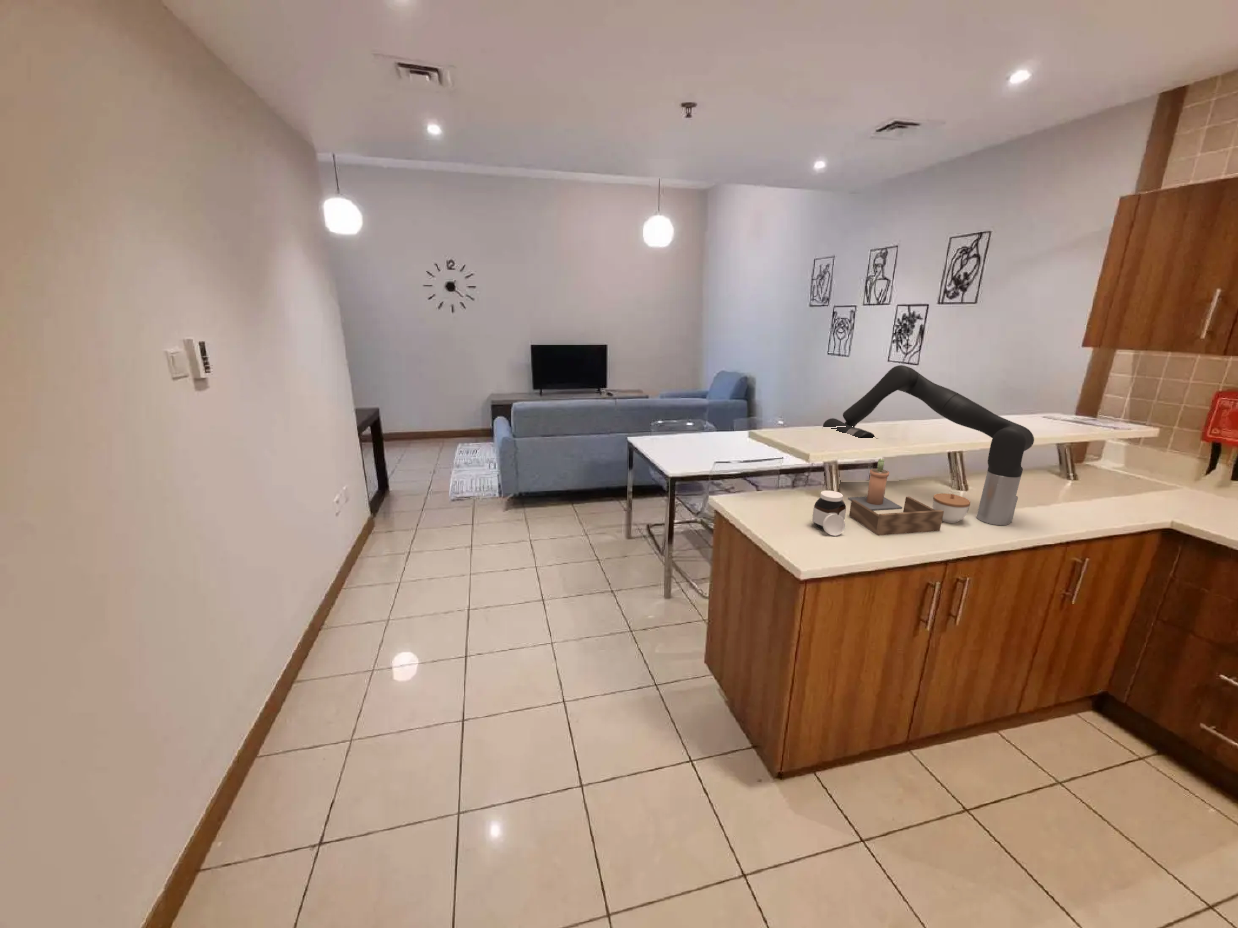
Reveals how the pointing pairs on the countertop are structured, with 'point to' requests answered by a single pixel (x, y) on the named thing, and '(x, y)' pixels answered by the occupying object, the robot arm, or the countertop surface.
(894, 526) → the open wooden tray
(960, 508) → the lidded jar
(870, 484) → the terracotta pot
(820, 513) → the spread jar
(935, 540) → the countertop surface
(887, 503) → the rubber mat
